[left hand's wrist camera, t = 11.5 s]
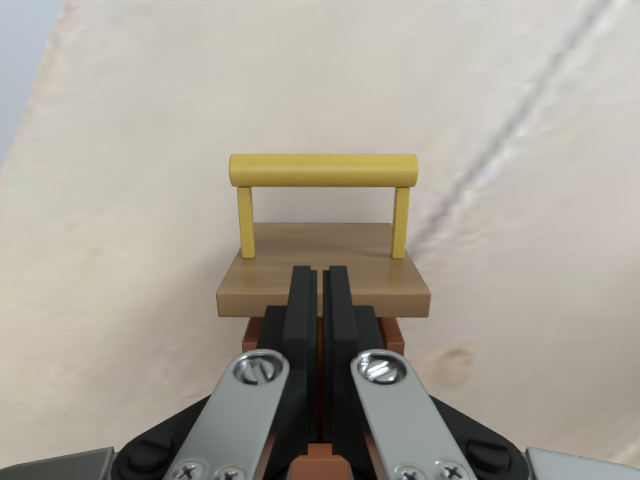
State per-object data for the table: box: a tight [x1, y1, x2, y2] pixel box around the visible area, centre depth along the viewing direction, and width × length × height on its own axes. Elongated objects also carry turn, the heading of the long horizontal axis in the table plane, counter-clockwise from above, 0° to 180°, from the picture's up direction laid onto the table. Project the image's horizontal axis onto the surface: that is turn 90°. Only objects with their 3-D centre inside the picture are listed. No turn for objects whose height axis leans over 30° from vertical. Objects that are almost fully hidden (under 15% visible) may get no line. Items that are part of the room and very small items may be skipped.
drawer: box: [216, 154, 431, 443], centre depth 23 cm, size 24×9×10 cm, turn 0°
